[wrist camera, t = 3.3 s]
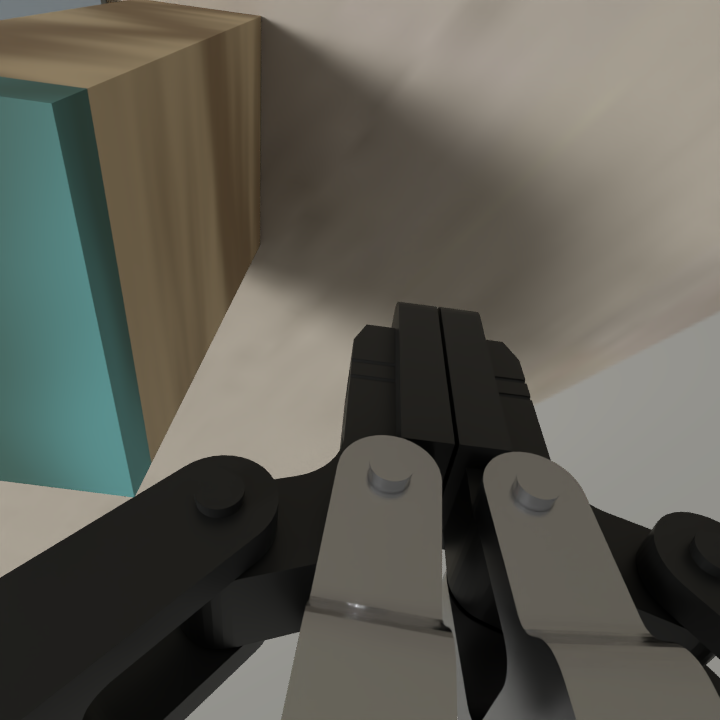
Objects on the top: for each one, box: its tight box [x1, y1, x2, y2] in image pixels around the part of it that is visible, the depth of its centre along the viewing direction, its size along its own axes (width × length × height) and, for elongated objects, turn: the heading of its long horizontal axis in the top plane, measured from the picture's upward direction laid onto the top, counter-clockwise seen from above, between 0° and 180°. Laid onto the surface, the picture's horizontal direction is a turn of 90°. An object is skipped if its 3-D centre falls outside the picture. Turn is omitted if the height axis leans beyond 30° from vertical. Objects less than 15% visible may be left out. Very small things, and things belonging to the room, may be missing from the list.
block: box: [0, 0, 261, 497], centre depth 15 cm, size 4×8×13 cm, turn 173°
